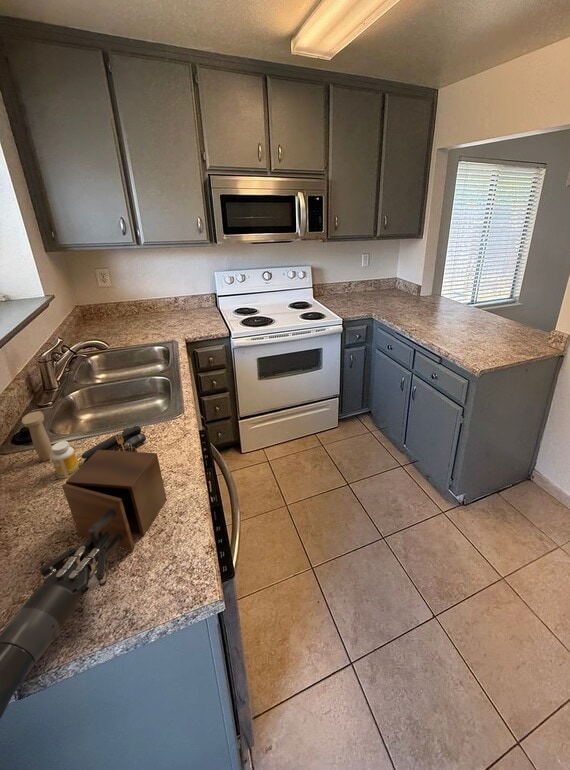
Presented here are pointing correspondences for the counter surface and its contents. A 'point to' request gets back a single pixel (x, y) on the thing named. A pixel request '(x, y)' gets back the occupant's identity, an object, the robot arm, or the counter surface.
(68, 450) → the supplement bottle
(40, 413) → the handle
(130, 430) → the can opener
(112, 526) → the cupboard door
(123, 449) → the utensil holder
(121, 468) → the cupboard
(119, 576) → the counter surface
